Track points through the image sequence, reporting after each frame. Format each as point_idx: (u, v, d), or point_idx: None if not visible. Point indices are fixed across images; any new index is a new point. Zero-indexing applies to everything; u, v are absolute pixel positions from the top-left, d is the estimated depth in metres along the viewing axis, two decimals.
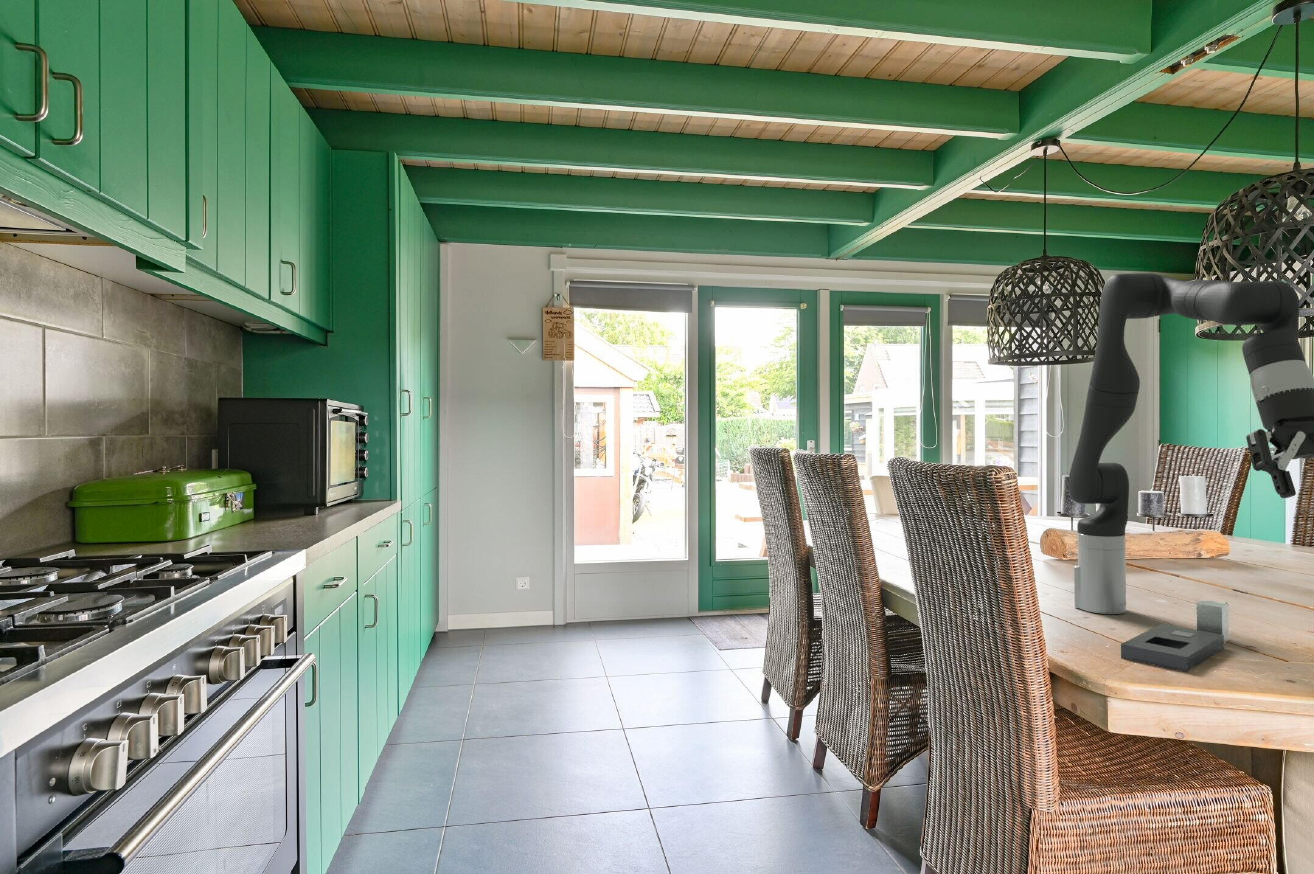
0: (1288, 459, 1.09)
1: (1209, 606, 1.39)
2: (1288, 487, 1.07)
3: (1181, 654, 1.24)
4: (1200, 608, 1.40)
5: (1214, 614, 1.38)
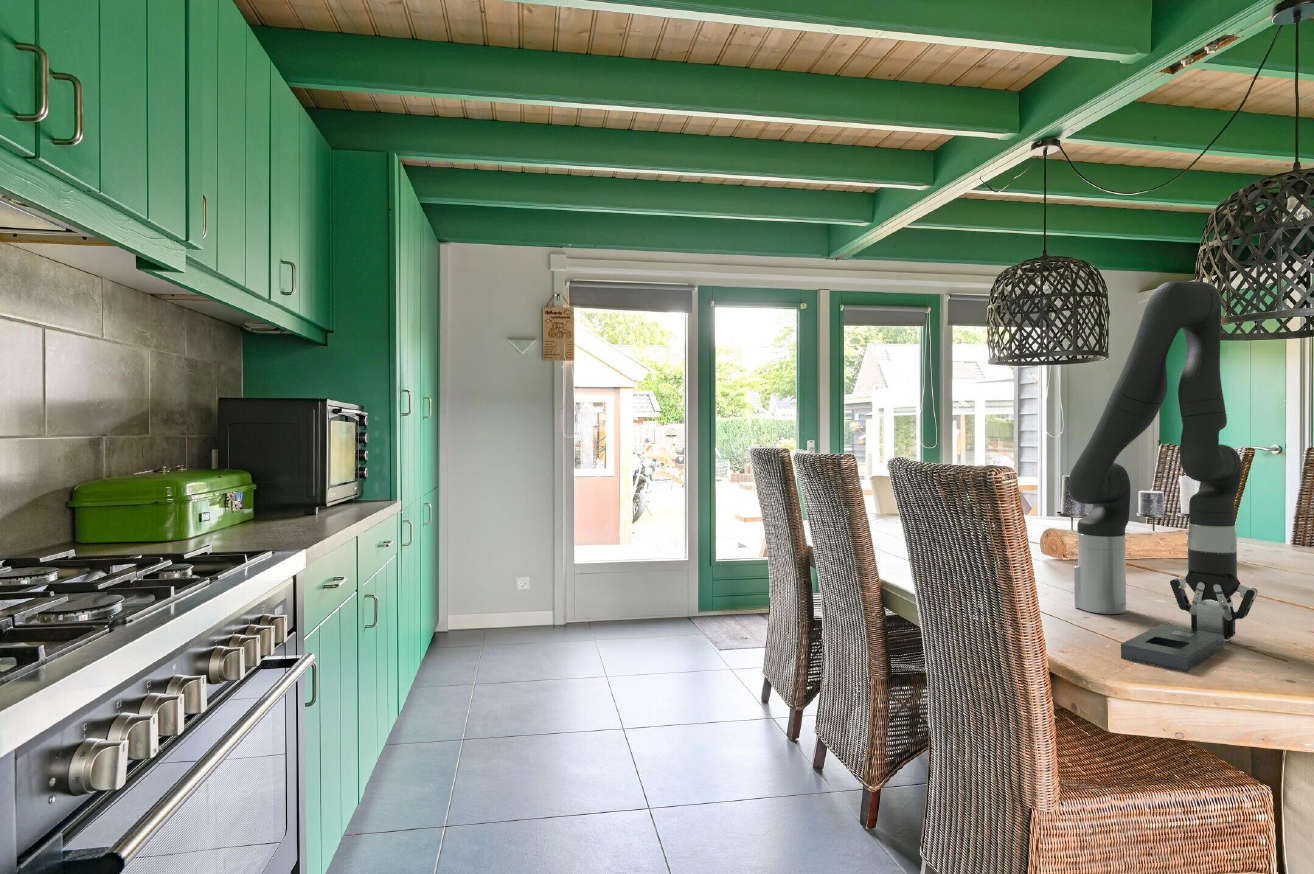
0: None
1: (1209, 606, 1.39)
2: (1195, 628, 1.42)
3: (1181, 654, 1.24)
4: (1200, 608, 1.40)
5: (1214, 614, 1.38)
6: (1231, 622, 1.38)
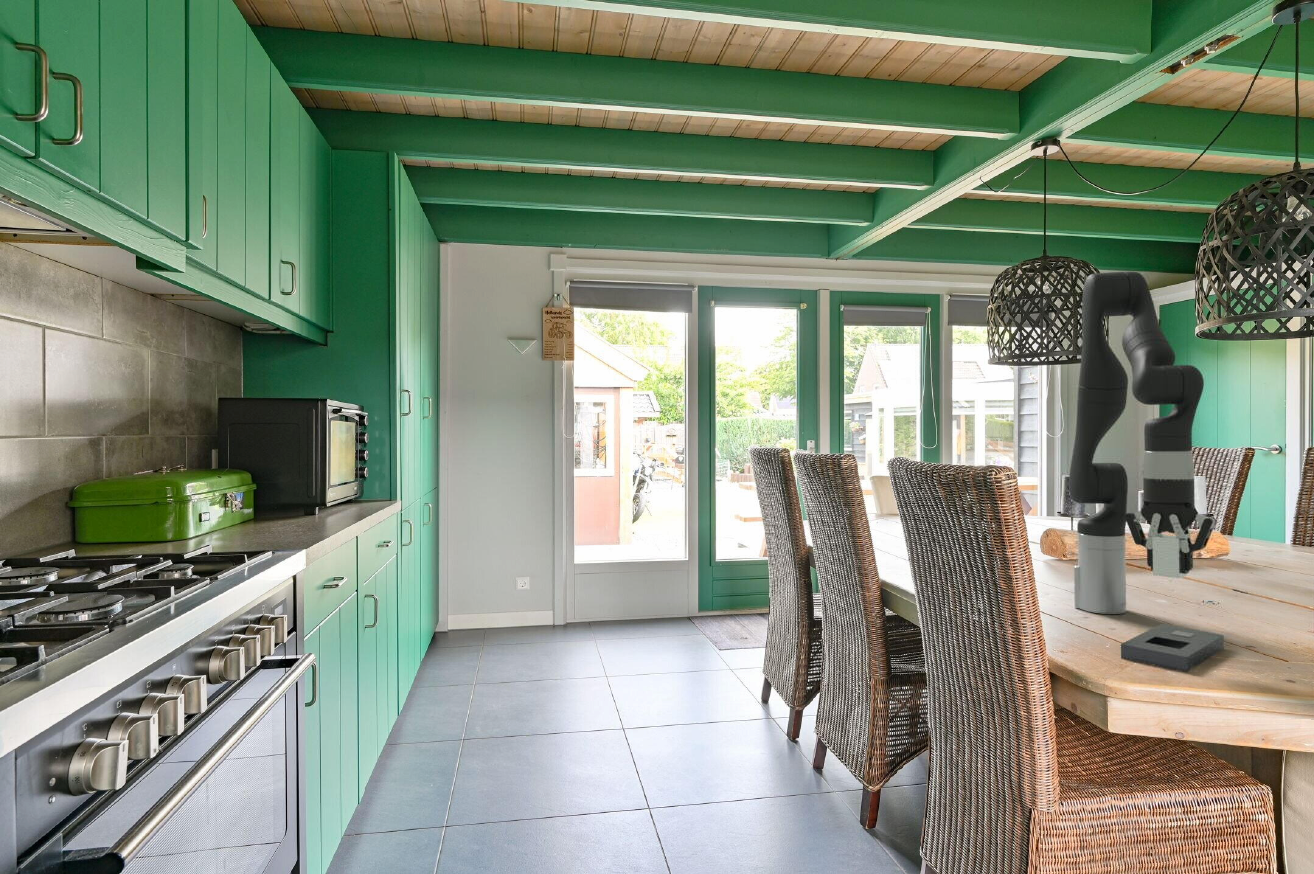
0: None
1: (1165, 538, 1.29)
2: (1151, 563, 1.32)
3: (1181, 654, 1.24)
4: (1156, 541, 1.31)
5: (1170, 547, 1.29)
6: (1188, 555, 1.28)
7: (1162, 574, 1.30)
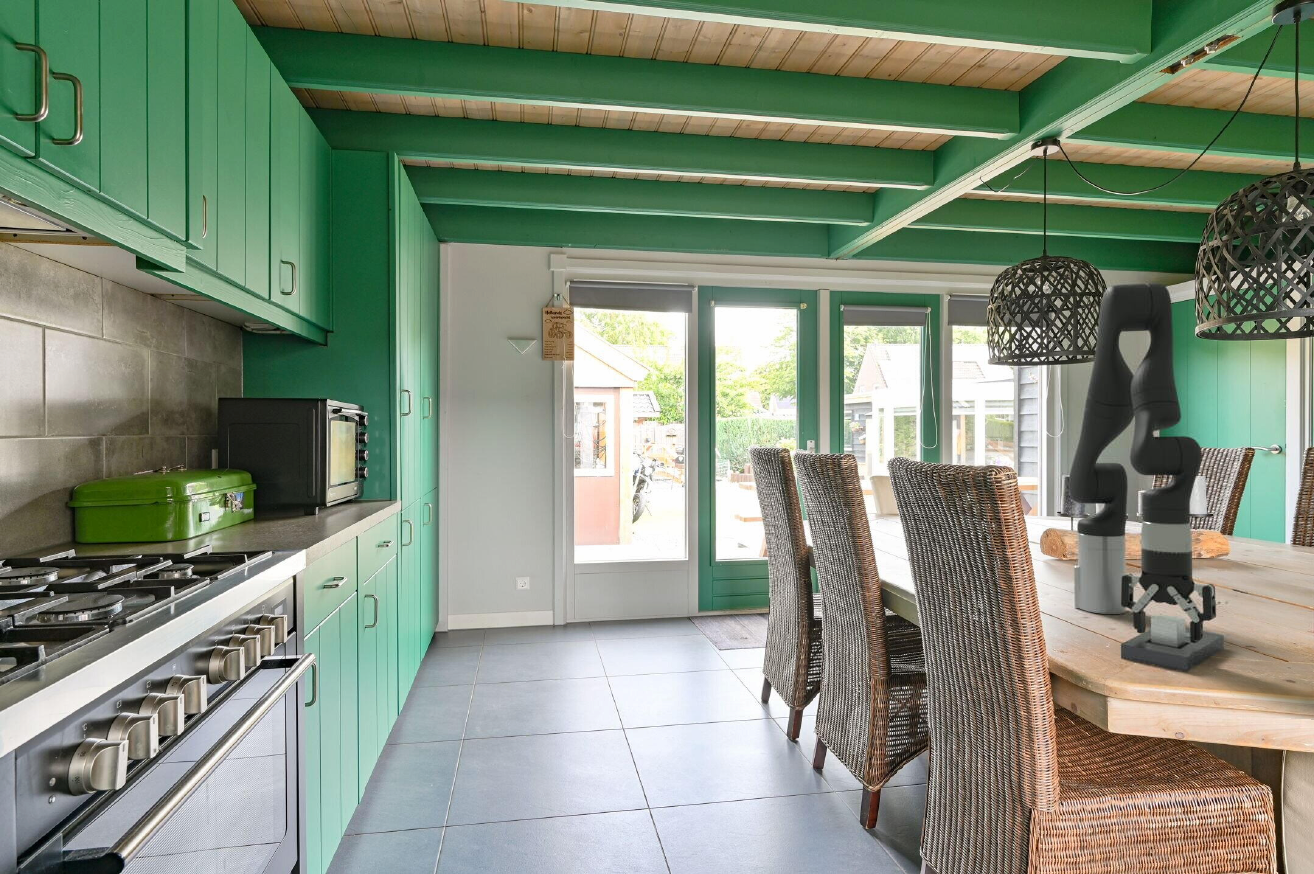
0: (1142, 604, 1.33)
1: (1163, 621, 1.30)
2: (1137, 626, 1.34)
3: (1181, 654, 1.24)
4: (1154, 623, 1.31)
5: (1169, 630, 1.29)
6: (1198, 624, 1.27)
7: None
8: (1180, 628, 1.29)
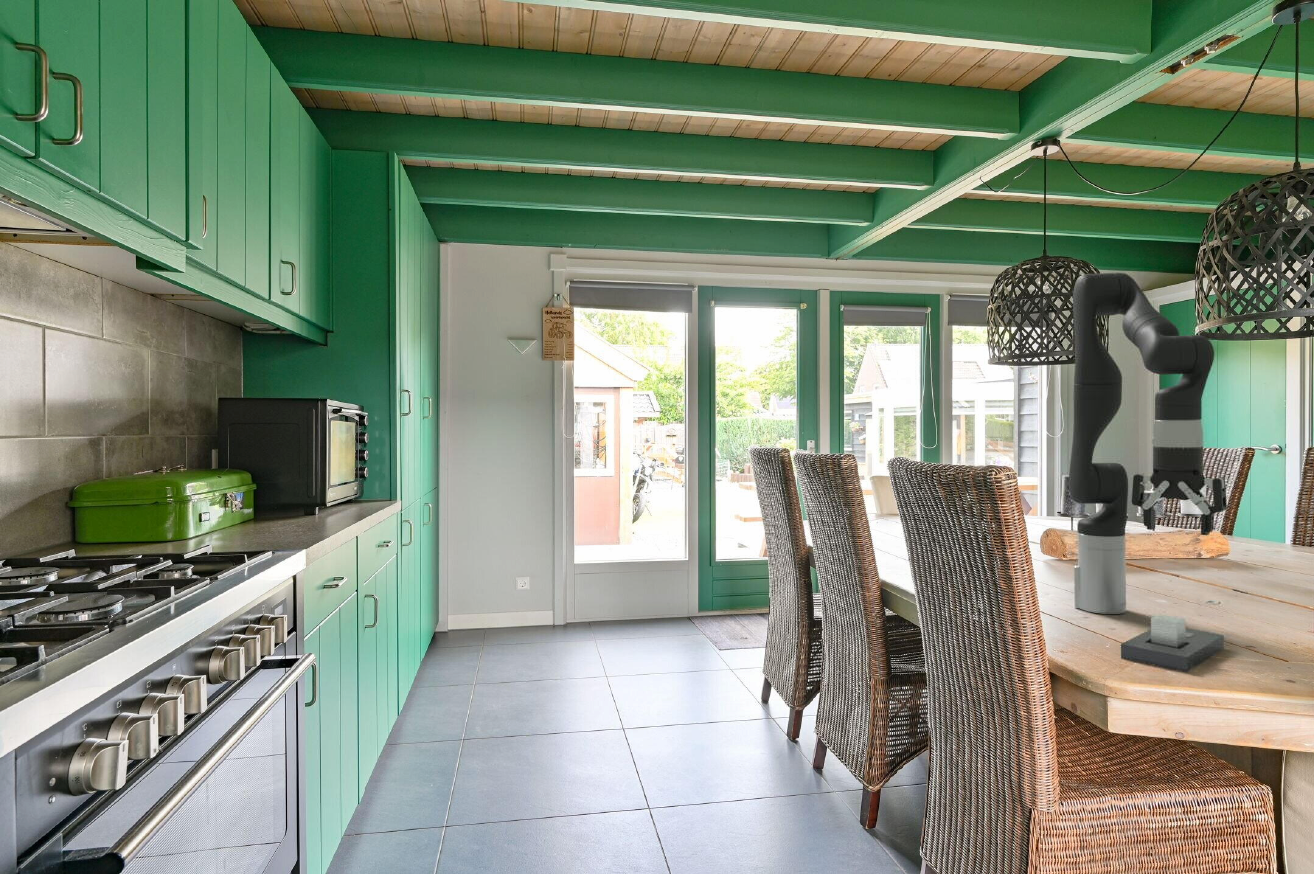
0: (1152, 501, 1.36)
1: (1164, 621, 1.30)
2: (1147, 523, 1.37)
3: (1181, 654, 1.24)
4: (1154, 623, 1.31)
5: (1169, 630, 1.29)
6: (1209, 516, 1.30)
7: None
8: (1180, 628, 1.29)
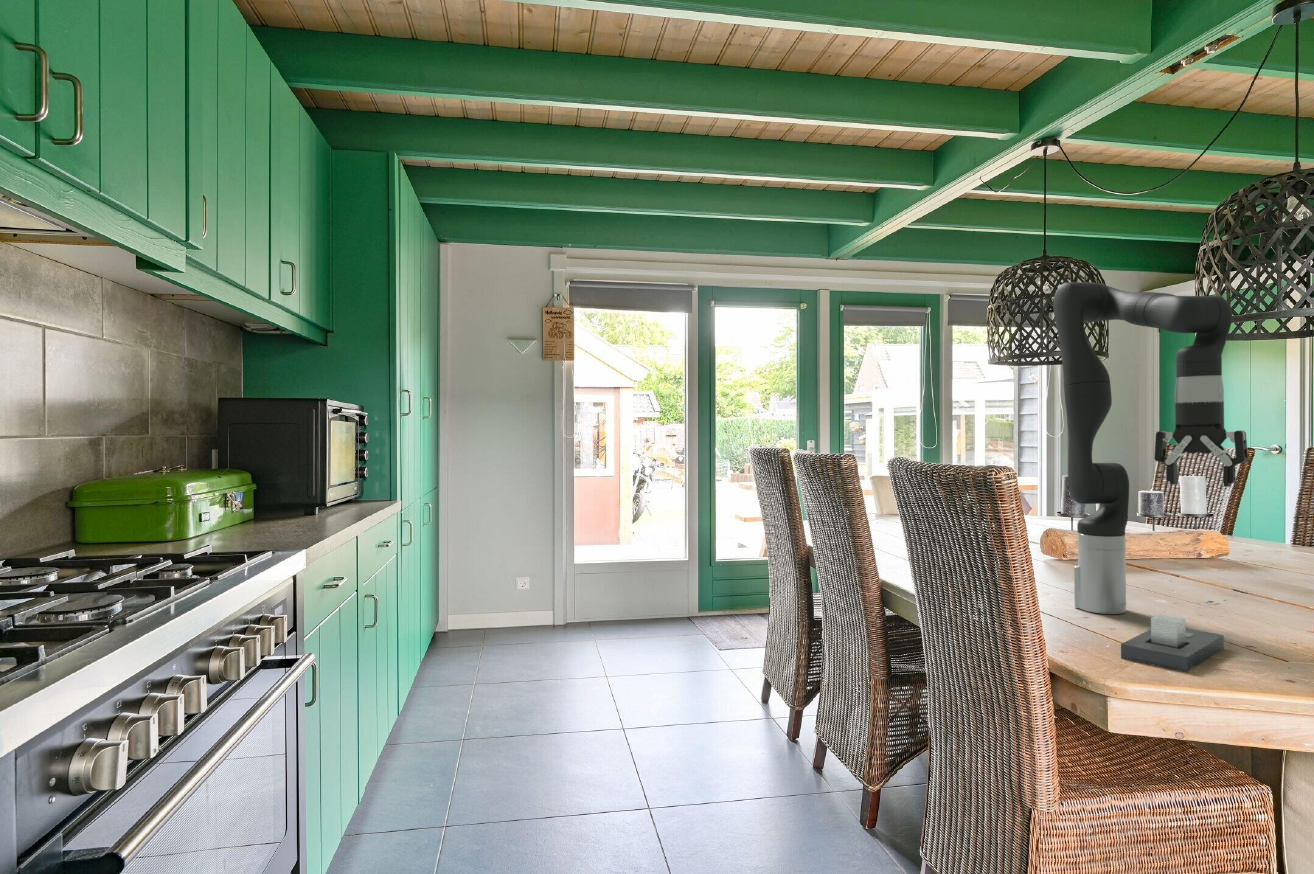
0: (1175, 456, 1.41)
1: (1164, 621, 1.30)
2: (1170, 478, 1.42)
3: (1181, 654, 1.24)
4: (1154, 623, 1.31)
5: (1169, 630, 1.29)
6: (1231, 468, 1.35)
7: None
8: (1180, 628, 1.29)
